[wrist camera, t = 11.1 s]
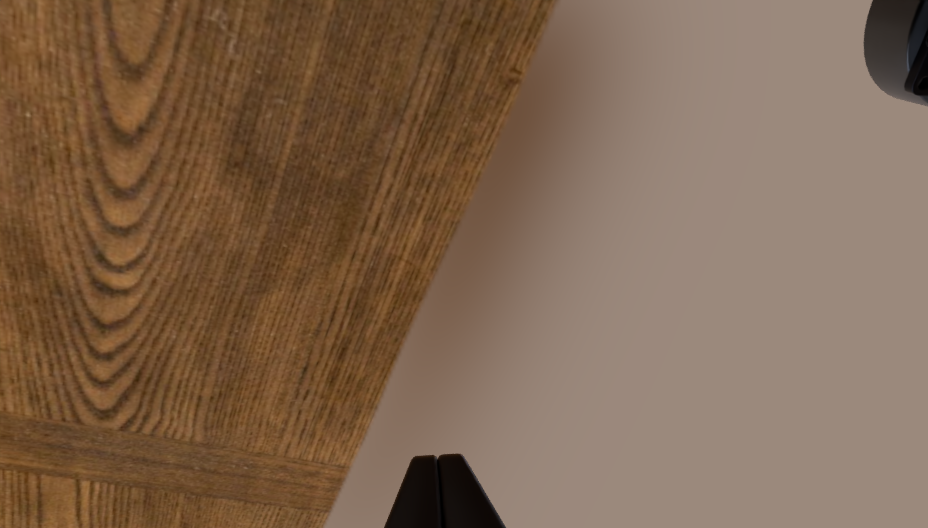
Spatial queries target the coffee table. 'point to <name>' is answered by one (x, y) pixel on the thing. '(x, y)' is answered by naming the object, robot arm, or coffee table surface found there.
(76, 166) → the coffee table surface
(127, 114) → the coffee table surface
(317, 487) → the coffee table surface
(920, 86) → the robot arm
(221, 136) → the coffee table surface
